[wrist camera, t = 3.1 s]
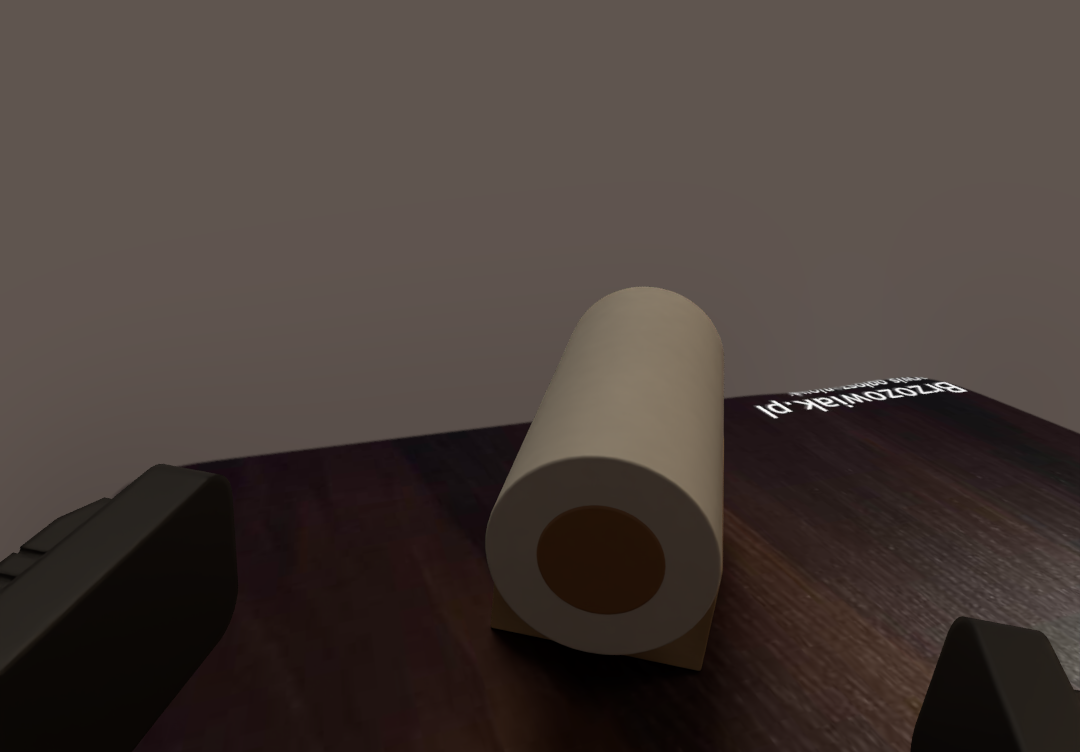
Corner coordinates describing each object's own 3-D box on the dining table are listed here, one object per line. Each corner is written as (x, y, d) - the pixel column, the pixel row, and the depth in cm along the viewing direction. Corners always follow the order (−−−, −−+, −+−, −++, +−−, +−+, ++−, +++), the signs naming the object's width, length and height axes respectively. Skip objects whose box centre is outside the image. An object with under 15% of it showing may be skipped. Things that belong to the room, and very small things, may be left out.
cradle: (490, 627, 29) (501, 500, 27) (541, 490, 37) (553, 384, 35) (700, 671, 28) (728, 544, 26) (706, 520, 36) (729, 413, 34)
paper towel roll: (476, 631, 23) (492, 437, 21) (562, 414, 35) (578, 274, 32) (699, 678, 22) (743, 481, 20) (709, 440, 34) (737, 298, 32)
